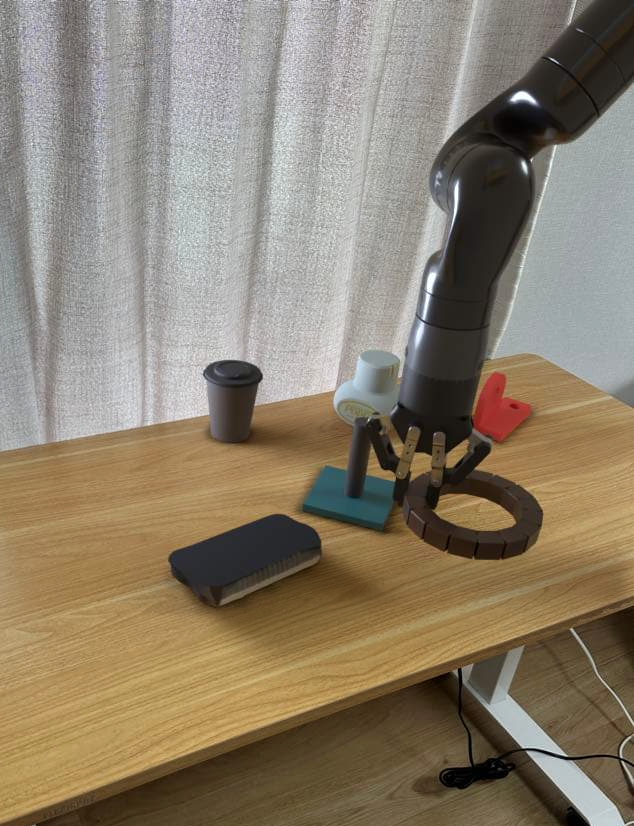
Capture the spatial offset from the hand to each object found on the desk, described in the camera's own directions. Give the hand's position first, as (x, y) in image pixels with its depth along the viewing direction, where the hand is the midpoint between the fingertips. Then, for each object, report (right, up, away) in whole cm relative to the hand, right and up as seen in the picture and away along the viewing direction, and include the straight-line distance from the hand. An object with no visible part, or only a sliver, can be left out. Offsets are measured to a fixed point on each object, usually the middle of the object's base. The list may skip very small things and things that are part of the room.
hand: (413, 505), depth 89 cm
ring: (+6, -2, -2) cm, 6 cm away
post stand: (-5, +1, +11) cm, 12 cm away
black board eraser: (-19, -7, -1) cm, 20 cm away
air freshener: (0, +13, +28) cm, 31 cm away
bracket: (+20, +14, +30) cm, 38 cm away
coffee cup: (-20, +11, +24) cm, 33 cm away
